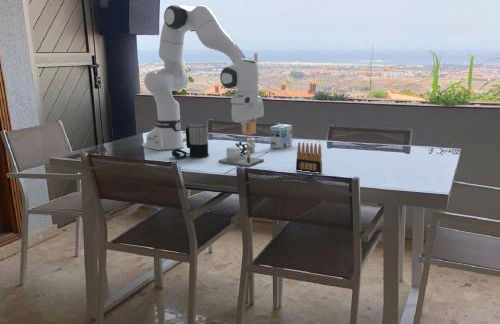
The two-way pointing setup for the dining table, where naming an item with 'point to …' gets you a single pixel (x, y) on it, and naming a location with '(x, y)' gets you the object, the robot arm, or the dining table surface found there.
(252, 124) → the orange wooden block
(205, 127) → the milk frother
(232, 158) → the junction plate
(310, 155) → the ammunition clip
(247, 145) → the valve
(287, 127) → the light bulb box
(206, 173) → the dining table surface
